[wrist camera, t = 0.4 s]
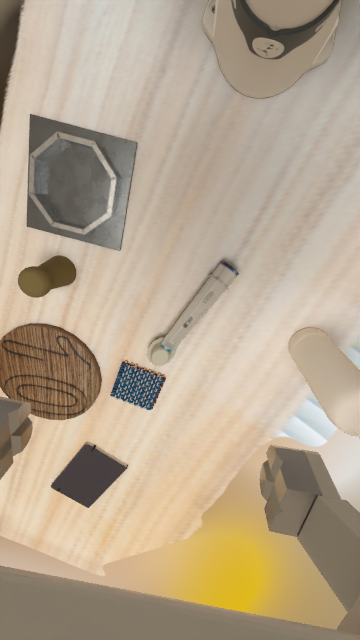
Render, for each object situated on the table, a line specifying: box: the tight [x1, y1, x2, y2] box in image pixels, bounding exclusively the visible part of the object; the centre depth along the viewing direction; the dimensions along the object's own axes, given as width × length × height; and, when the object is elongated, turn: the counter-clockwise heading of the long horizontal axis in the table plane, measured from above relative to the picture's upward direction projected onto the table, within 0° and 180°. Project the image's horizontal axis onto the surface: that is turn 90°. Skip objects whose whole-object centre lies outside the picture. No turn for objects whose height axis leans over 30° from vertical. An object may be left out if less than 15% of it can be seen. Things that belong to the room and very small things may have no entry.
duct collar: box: [27, 114, 137, 251], centre depth 48 cm, size 18×18×3 cm
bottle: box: [289, 328, 360, 437], centre depth 43 cm, size 8×8×30 cm
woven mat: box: [110, 360, 166, 410], centre depth 64 cm, size 10×11×2 cm
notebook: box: [51, 442, 128, 508], centre depth 76 cm, size 13×2×21 cm
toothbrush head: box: [147, 261, 239, 366], centre depth 55 cm, size 5×7×25 cm
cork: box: [18, 256, 76, 297], centre depth 51 cm, size 6×6×11 cm
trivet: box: [0, 324, 102, 420], centre depth 64 cm, size 25×25×2 cm
